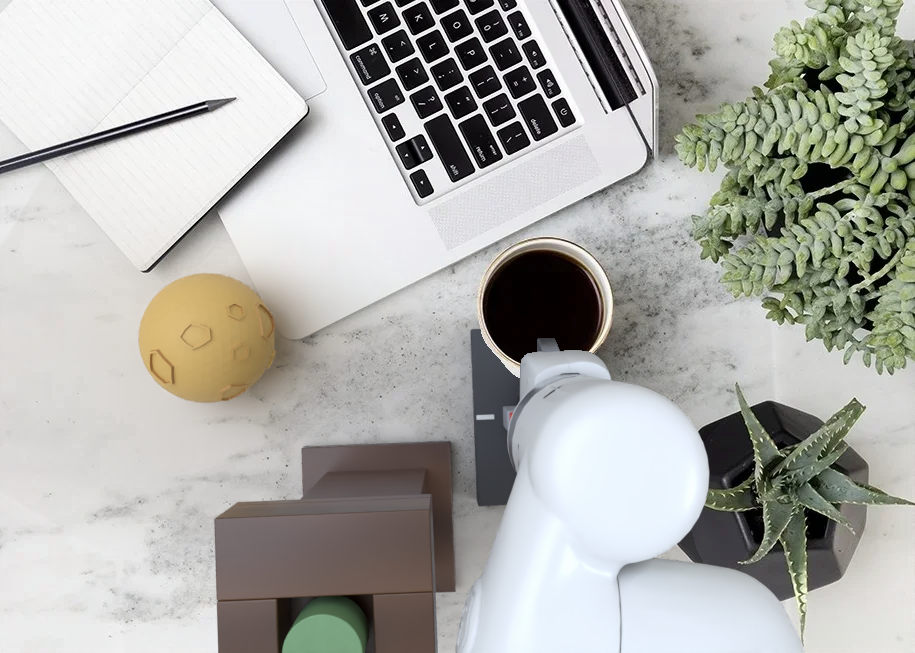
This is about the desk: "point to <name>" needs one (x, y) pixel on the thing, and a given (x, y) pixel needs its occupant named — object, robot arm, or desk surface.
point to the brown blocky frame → (326, 569)
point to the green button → (328, 628)
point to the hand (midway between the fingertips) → (538, 415)
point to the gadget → (491, 422)
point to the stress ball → (207, 338)
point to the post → (390, 484)
